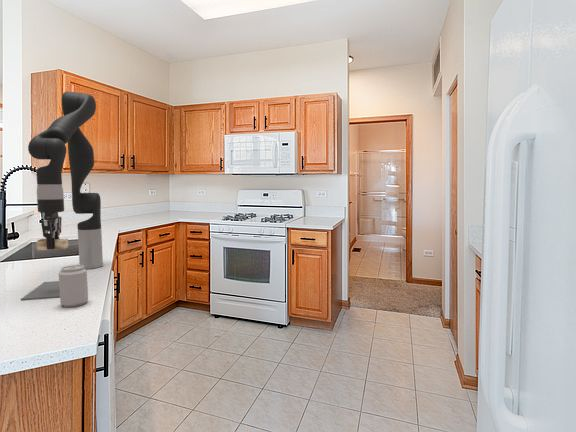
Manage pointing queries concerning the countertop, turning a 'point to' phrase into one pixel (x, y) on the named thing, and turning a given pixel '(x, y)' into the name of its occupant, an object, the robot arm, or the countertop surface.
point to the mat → (44, 291)
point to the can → (73, 285)
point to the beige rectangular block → (58, 244)
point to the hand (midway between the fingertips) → (53, 247)
